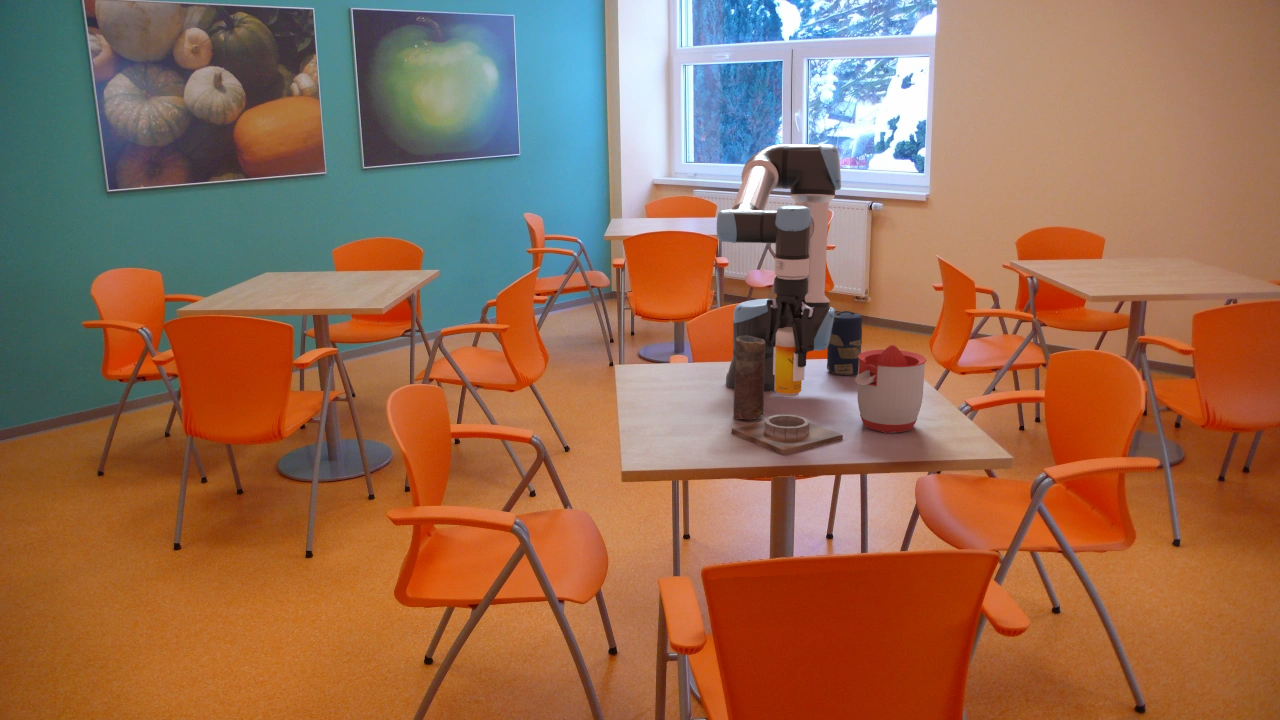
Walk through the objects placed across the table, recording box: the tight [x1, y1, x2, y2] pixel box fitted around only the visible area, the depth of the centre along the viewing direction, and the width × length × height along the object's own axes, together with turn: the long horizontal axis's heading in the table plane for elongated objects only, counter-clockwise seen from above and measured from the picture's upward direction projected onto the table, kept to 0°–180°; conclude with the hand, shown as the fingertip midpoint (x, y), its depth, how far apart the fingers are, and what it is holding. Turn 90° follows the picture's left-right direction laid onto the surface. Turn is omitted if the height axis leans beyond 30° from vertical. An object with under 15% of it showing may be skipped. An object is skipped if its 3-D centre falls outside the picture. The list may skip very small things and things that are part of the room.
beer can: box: [774, 327, 803, 398], centre depth 224 cm, size 6×6×15 cm
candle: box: [733, 336, 765, 421], centre depth 240 cm, size 8×7×20 cm
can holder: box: [731, 414, 844, 456], centre depth 228 cm, size 18×18×4 cm
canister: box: [826, 310, 863, 376], centre depth 280 cm, size 10×10×18 cm
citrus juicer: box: [854, 344, 927, 434], centre depth 232 cm, size 16×17×20 cm
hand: (788, 376), depth 225 cm, fingers closed on beer can, 6 cm apart
